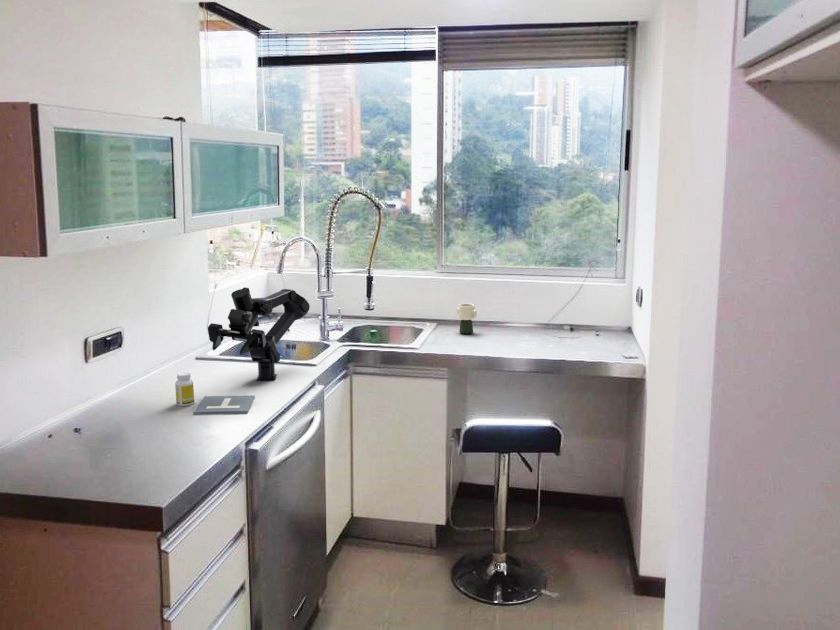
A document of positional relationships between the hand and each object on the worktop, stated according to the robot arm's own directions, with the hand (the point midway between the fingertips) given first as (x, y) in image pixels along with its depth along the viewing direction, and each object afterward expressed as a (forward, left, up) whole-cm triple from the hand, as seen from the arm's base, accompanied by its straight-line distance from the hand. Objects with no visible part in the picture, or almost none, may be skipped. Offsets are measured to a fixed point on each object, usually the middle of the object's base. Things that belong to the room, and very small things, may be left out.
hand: (226, 351), depth 244 cm
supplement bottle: (+3, -13, -16) cm, 21 cm away
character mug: (-93, +89, -16) cm, 130 cm away
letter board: (+6, 0, -16) cm, 17 cm away
